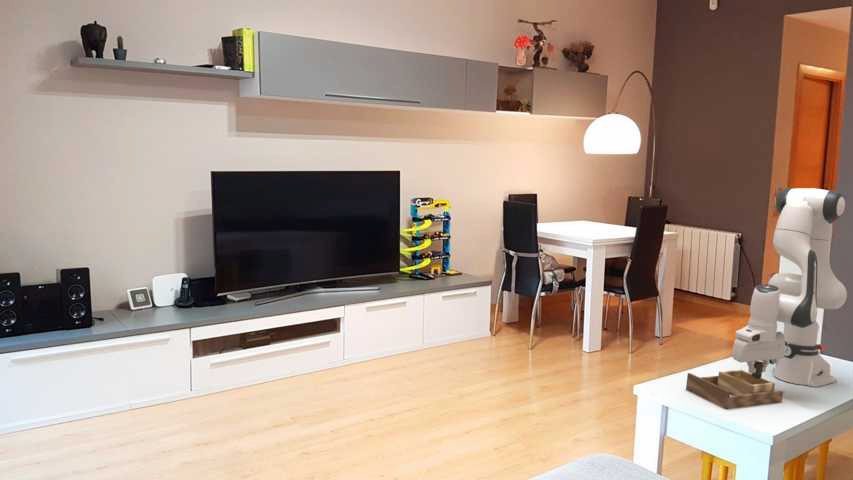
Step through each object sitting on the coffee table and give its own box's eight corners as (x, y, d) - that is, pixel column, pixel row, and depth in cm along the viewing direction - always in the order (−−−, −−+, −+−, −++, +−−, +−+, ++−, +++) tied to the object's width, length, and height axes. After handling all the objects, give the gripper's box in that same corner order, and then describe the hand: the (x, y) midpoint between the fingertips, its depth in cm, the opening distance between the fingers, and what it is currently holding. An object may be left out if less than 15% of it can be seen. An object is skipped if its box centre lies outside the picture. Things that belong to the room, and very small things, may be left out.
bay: (739, 387, 250) (741, 368, 249) (781, 405, 233) (783, 385, 232) (685, 392, 241) (687, 373, 240) (725, 412, 224) (727, 391, 223)
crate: (741, 385, 247) (744, 355, 246) (774, 400, 234) (779, 368, 233) (717, 388, 243) (720, 357, 242) (749, 403, 230) (753, 371, 228)
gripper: (776, 328, 244) (772, 366, 246) (731, 332, 236) (726, 371, 238) (792, 333, 238) (787, 372, 240) (746, 337, 230) (741, 377, 233)
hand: (756, 372), depth 239 cm, fingers closed on crate, 3 cm apart
